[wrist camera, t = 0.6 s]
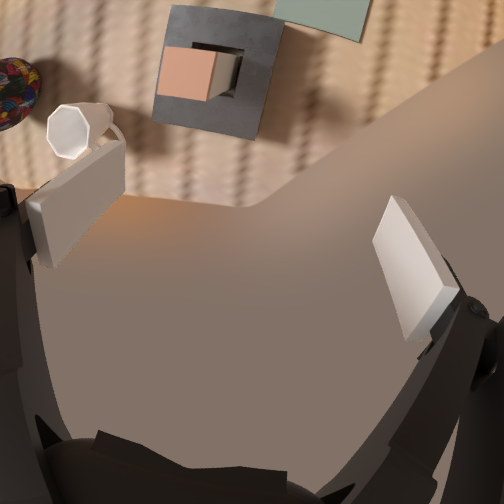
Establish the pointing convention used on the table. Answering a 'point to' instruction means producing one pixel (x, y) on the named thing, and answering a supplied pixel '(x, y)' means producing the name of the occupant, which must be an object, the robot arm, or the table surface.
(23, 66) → the egg
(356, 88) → the table surface
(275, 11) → the mat
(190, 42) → the grey square holder
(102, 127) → the cup
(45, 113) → the table surface
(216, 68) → the plug
